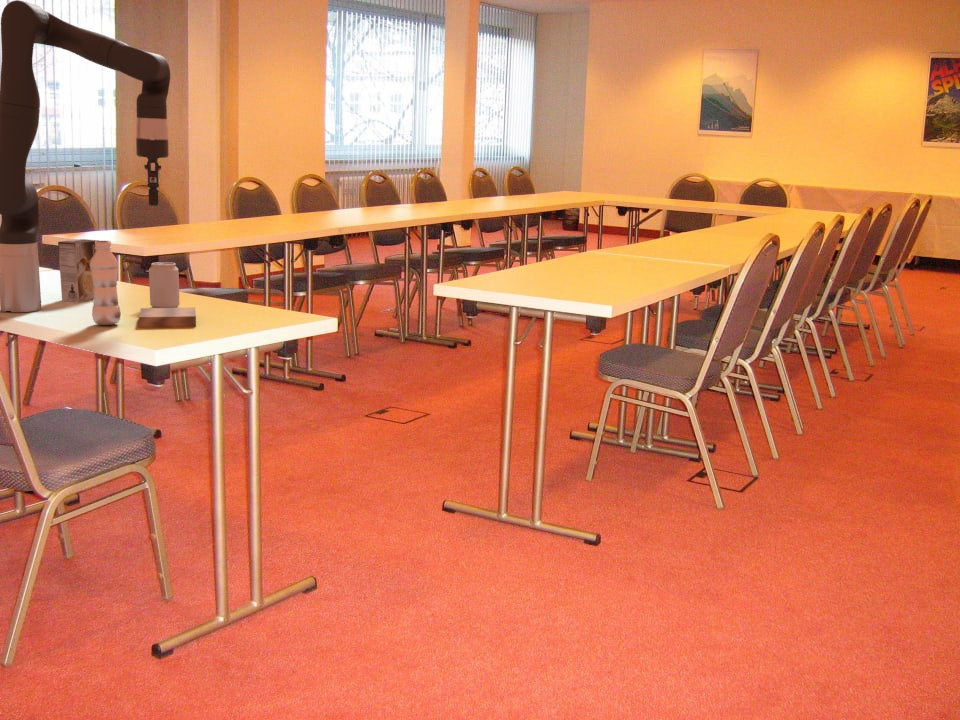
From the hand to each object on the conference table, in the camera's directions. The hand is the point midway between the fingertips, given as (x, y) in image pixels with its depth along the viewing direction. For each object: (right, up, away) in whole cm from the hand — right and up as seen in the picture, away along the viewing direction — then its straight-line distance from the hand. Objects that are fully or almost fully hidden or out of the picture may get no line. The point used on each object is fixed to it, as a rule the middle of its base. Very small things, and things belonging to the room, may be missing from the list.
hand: (153, 204), depth 248 cm
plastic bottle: (-8, -31, -9) cm, 33 cm away
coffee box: (-28, -22, +27) cm, 45 cm away
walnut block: (+5, -29, -3) cm, 30 cm away
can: (-3, -25, +17) cm, 31 cm away
